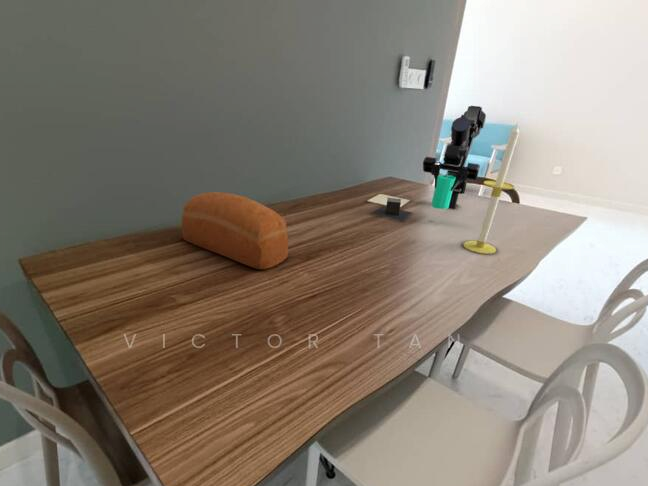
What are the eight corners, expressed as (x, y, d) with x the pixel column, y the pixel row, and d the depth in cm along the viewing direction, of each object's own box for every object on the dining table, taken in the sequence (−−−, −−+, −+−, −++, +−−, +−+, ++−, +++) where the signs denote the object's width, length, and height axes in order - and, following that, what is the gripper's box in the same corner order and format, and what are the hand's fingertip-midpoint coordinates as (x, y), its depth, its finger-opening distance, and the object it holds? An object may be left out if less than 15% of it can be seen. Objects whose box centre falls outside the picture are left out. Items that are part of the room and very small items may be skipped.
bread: (260, 273, 102) (261, 216, 94) (178, 240, 118) (172, 188, 110) (292, 257, 112) (295, 203, 104) (212, 228, 128) (209, 180, 120)
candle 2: (472, 239, 133) (507, 118, 114) (501, 249, 127) (544, 123, 108) (457, 246, 127) (492, 119, 108) (487, 256, 121) (530, 124, 102)
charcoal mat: (382, 207, 158) (383, 205, 158) (411, 213, 153) (411, 212, 153) (371, 214, 150) (371, 213, 149) (401, 221, 144) (401, 220, 144)
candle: (448, 205, 143) (457, 171, 136) (448, 210, 138) (456, 175, 131) (431, 202, 144) (439, 169, 138) (430, 207, 139) (438, 172, 133)
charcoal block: (385, 210, 154) (387, 197, 151) (398, 211, 153) (400, 198, 150) (385, 214, 149) (387, 201, 147) (398, 215, 149) (400, 202, 146)
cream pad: (379, 194, 174) (379, 193, 174) (410, 201, 168) (410, 200, 168) (366, 201, 163) (367, 200, 163) (398, 209, 157) (399, 207, 157)
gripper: (430, 132, 135) (415, 170, 133) (487, 139, 128) (473, 180, 126) (430, 152, 145) (416, 188, 143) (483, 160, 138) (470, 198, 136)
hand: (443, 188), depth 136 cm, fingers closed on candle, 5 cm apart
